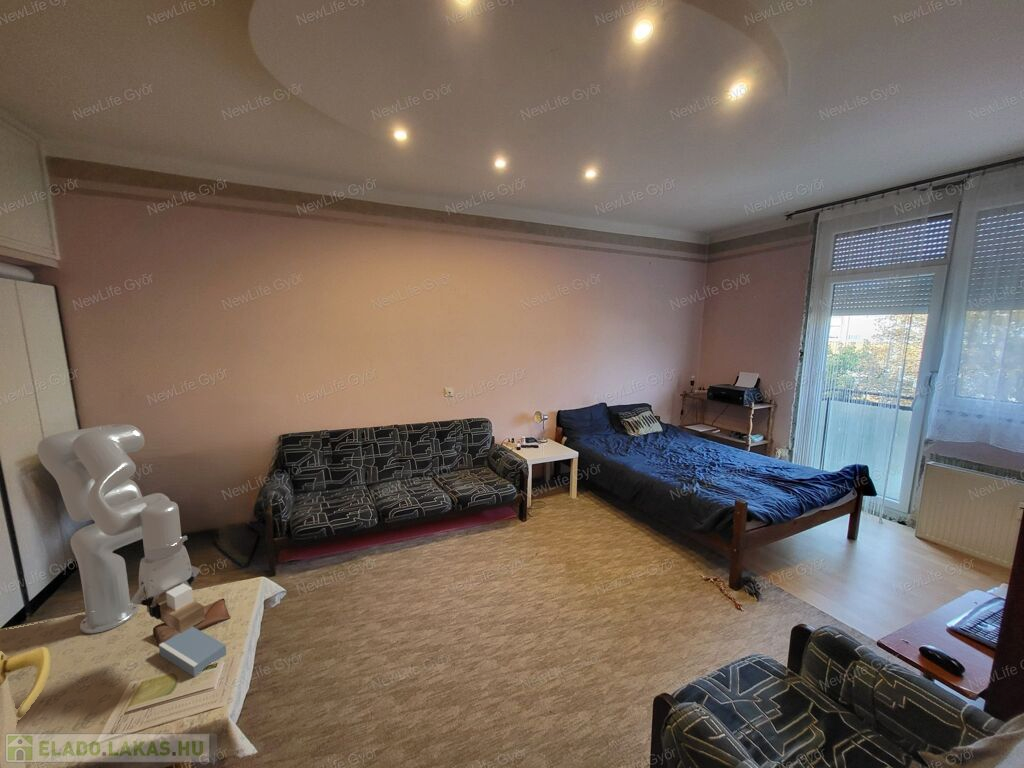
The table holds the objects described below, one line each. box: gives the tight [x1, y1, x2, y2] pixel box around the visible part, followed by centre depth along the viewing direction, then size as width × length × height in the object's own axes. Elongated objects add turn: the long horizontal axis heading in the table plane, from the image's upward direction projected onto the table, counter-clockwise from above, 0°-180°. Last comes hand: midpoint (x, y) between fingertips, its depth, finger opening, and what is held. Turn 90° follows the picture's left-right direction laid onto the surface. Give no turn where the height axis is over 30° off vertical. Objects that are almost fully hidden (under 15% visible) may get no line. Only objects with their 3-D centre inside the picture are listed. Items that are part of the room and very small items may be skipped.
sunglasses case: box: [152, 598, 232, 648], centre depth 122 cm, size 18×7×7 cm, turn 140°
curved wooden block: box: [145, 587, 205, 633], centre depth 106 cm, size 16×6×4 cm, turn 65°
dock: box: [158, 626, 227, 677], centre depth 111 cm, size 16×8×3 cm, turn 67°
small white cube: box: [166, 583, 194, 611], centre depth 105 cm, size 4×4×4 cm
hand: (170, 608), depth 108 cm, fingers closed on curved wooden block, 5 cm apart
